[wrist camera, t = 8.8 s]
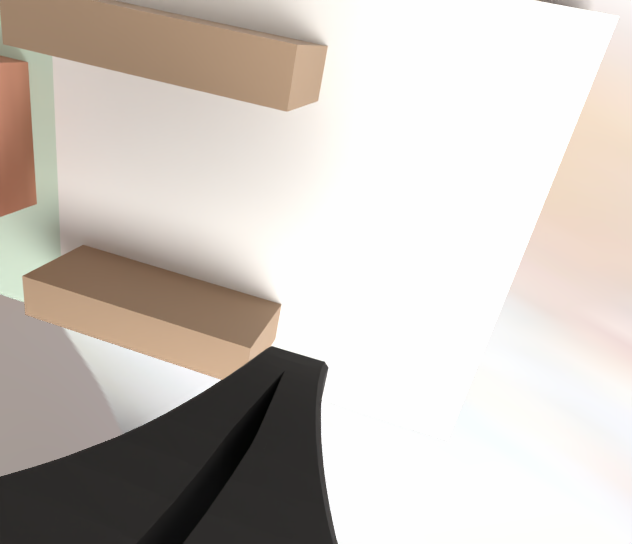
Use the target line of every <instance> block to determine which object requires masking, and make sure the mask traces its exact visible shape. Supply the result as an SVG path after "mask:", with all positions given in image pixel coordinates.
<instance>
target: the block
mask: <svg viewBox="0 0 632 544" xmlns="http://www.w3.org/2000/svg"><path fill="white" fill-rule="evenodd" d="M35 204H37V197H36V181H35V165H34V149H33V133H32V117H31V102H30V86H29V70H28V62H25V61H21V60H17V59H13V58H9V57H4V56H0V217H2V216H5V215H8V214H10V213H13V212H16V211H19V210H22V209H24V208H27V207H30V206H33V205H35Z"/></svg>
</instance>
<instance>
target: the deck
mask: <svg viewBox="0 0 632 544" xmlns="http://www.w3.org/2000/svg"><path fill="white" fill-rule="evenodd" d="M618 19H619V16H616V15H610V14H605V13H600V12H594V11H589V10H584V9H578V8H573V7H568V6H562V5H557V4H552V3H546V2H541V1H536V0H0V56H4V57H9V58H13V59H17V60H21V61H25V62H28V70H29V86H30V102H31V117H32V133H33V149H34V165H35V181H36V197H37V204H35V205H33V206H30V207H27V208H24V209H22V210H19V211H16V212H13V213H10V214H8V215H5V216H2V217H0V294H1V295H4V296H7V297H10V298H13V299H16V300H19V301H22V302H24V303H25V304H24V305H25V315H28V316H31V317H34V318H37V319H40V320H43V321H46V322H49V323H52V324H55V325H58V326H61V327H64V328H67V329H70V330H73V331H76V332H79V333H82V334H85V335H88V336H91V337H94V338H97V339H100V340H103V341H106V342H109V343H112V344H115V345H118V346H121V347H124V348H127V349H130V350H133V351H136V352H139V353H142V354H145V355H148V356H151V357H154V358H157V359H160V360H163V361H166V362H170V363H173V364H176V365H179V366H182V367H185V368H188V369H191V370H194V371H197V372H200V373H203V374H206V375H209V376H212V377H215V378H218V379H221V380H223V379H224V378H226V377H227V376H229V375H230V374H232V373H233V372H235V371H236V370H237V369H239V368H240V367H242V366H243V365H245V364H246V363H247V362H249V361H250V360H252V359H253V358H254V357H256V356H257V355H258V354H260V353H261V352H263V351H264V350H265V349H267V348H269V347H271V346H274V347H277V348H281V349H284V350H287V351H291V352H294V353H298V354H301V355H304V356H308V357H311V358H314V359H318V360H321V361H325V363H326V364H327V366H328V367H329V369H328V373H327V378H326V382H325V387H324V392H323V396H322V400H325V401H328V402H331V403H334V404H337V405H340V406H343V407H346V408H349V409H352V410H355V411H358V412H362V413H365V414H368V415H371V416H374V417H377V418H380V419H383V420H386V421H389V422H392V423H395V424H398V425H401V426H404V427H407V428H410V429H414V430H417V431H420V432H423V433H426V434H429V435H432V436H435V437H438V438H441V439H444V440H447V441H448V439H449V436H450V434H451V432H452V429H453V427H454V424H455V422H456V419H457V417H458V414H459V412H460V409H461V407H462V404H463V402H464V399H465V397H466V394H467V392H468V390H469V387H470V385H471V382H472V380H473V377H474V375H475V372H476V370H477V367H478V365H479V362H480V360H481V357H482V355H483V352H484V350H485V348H486V345H487V343H488V340H489V338H490V335H491V333H492V330H493V328H494V325H495V323H496V320H497V318H498V315H499V313H500V310H501V308H502V306H503V303H504V301H505V298H506V296H507V293H508V291H509V288H510V286H511V283H512V281H513V278H514V276H515V273H516V271H517V268H518V266H519V263H520V261H521V259H522V256H523V254H524V251H525V249H526V246H527V244H528V241H529V239H530V236H531V234H532V231H533V229H534V226H535V224H536V221H537V219H538V217H539V214H540V212H541V209H542V207H543V204H544V202H545V199H546V197H547V194H548V192H549V189H550V187H551V184H552V182H553V179H554V177H555V175H556V172H557V170H558V167H559V165H560V162H561V160H562V157H563V155H564V152H565V150H566V147H567V145H568V142H569V140H570V137H571V135H572V133H573V130H574V128H575V125H576V123H577V120H578V118H579V115H580V113H581V110H582V108H583V105H584V103H585V100H586V98H587V95H588V93H589V90H590V88H591V86H592V83H593V81H594V78H595V76H596V73H597V71H598V68H599V66H600V63H601V61H602V58H603V56H604V53H605V51H606V48H607V46H608V44H609V41H610V39H611V36H612V34H613V31H614V29H615V26H616V24H617V21H618Z"/></svg>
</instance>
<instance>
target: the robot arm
mask: <svg viewBox="0 0 632 544" xmlns="http://www.w3.org/2000/svg"><path fill="white" fill-rule="evenodd" d="M328 369H329V367H328V366H327V364H326V363H325V361H321V360H318V359H314V358H311V357H308V356H304V355H301V354H298V353H294V352H291V351H287V350H284V349H281V348H277V347H274V346H271V347H269V348H267V349H265V350H264V351H263V352H261V353H260V354H258V355H257V356H256V357H254V358H253V359H252V360H250V361H249V362H247V363H246V364H245V365H243V366H242V367H240V368H239V369H237V370H236V371H235V372H233V373H232V374H230V375H229V376H227V377H226V378H224V379H223V380H221V381H219V382H218V383H216V384H215V385H213V386H212V387H210V388H209V389H207V390H206V391H204V392H202V393H201V394H199V395H197V396H196V397H194V398H192V399H190V400H189V401H187V402H185V403H183V404H182V405H180V406H178V407H176V408H175V409H173V410H171V411H169V412H168V413H166V414H164V415H162V416H160V417H158V418H156V419H154V420H152V421H150V422H148V423H146V424H144V425H142V426H140V427H138V428H136V429H133V430H131V431H129V432H127V433H125V434H123V435H120V436H118V437H116V438H113V439H111V440H108V441H105V442H103V443H100V444H98V445H95V446H92V447H90V448H87V449H84V450H82V451H79V452H77V453H74V454H71V455H69V456H66V457H63V458H60V459H57V460H54V461H51V462H48V463H45V464H42V465H38V466H36V467H32V468H28V469H25V470H22V471H18V472H15V473H11V474H8V475H4V476H1V477H0V544H338V543H337V540H336V536H335V531H334V526H333V522H332V517H331V512H330V507H329V501H328V495H327V489H326V483H325V475H324V467H323V456H322V444H321V401H322V396H323V392H324V387H325V382H326V378H327V373H328Z"/></svg>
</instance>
